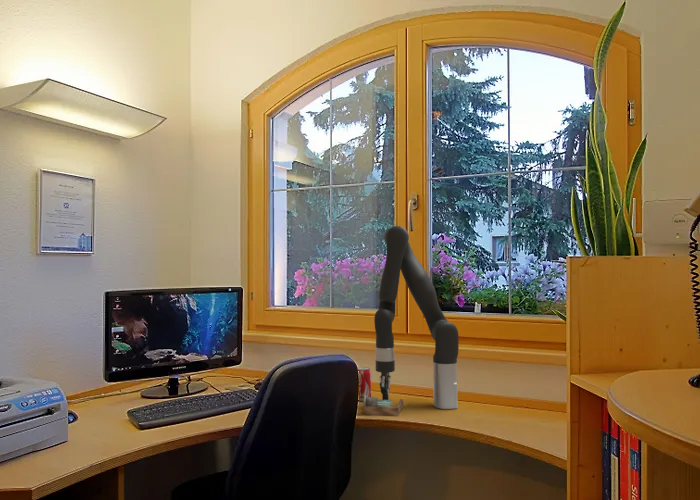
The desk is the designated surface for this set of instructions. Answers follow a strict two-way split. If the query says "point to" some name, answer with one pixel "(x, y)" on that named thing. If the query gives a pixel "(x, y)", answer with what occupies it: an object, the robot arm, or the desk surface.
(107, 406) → the desk surface
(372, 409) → the bay
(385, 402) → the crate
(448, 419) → the desk surface
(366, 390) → the soda can
